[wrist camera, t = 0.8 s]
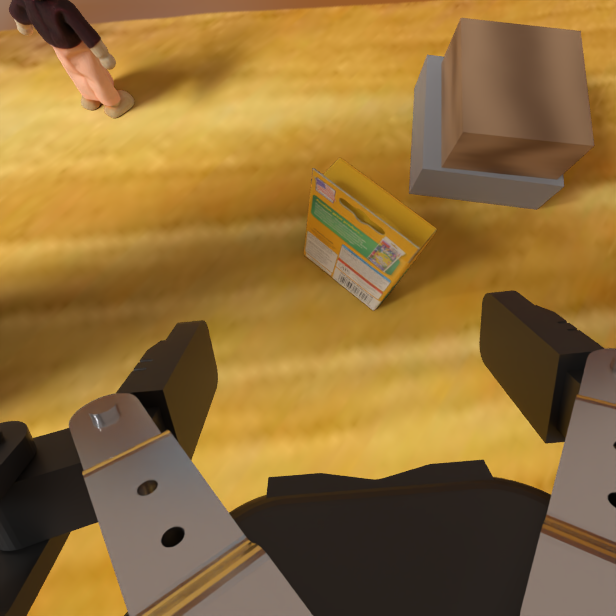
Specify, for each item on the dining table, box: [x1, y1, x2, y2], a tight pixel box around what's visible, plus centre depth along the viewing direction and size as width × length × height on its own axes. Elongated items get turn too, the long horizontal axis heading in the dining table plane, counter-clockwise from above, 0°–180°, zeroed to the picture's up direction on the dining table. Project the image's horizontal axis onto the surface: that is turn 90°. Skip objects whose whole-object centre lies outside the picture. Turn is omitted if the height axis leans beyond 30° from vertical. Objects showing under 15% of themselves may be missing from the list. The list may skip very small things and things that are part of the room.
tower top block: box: [441, 18, 594, 180], centre depth 31 cm, size 9×10×4 cm
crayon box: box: [304, 158, 437, 310], centre depth 27 cm, size 7×3×12 cm, turn 50°
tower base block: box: [409, 55, 564, 210], centre depth 35 cm, size 11×11×4 cm
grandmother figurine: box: [9, 0, 134, 118], centre depth 30 cm, size 8×4×13 cm, turn 79°
